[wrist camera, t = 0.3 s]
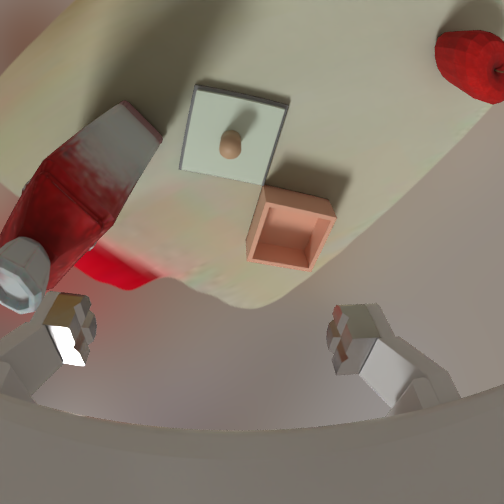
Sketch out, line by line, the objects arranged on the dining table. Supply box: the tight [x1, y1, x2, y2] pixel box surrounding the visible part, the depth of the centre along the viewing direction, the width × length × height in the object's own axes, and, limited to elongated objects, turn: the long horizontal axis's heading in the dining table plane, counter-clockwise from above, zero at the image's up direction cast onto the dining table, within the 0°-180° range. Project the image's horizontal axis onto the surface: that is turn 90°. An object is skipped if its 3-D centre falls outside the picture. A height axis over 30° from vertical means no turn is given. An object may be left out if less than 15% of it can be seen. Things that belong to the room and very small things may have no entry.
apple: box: [435, 30, 504, 104], centre depth 29 cm, size 10×10×14 cm
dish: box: [246, 184, 337, 272], centre depth 50 cm, size 11×11×6 cm
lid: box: [181, 89, 285, 185], centre depth 41 cm, size 12×12×5 cm
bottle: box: [0, 100, 163, 314], centre depth 31 cm, size 14×10×30 cm
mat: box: [179, 85, 288, 186], centre depth 43 cm, size 13×13×1 cm
